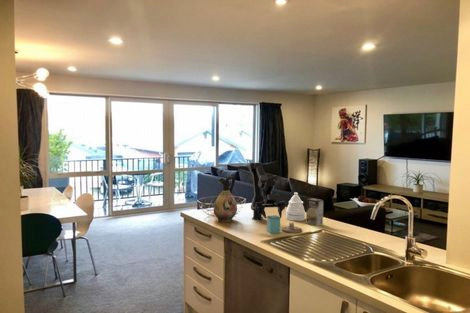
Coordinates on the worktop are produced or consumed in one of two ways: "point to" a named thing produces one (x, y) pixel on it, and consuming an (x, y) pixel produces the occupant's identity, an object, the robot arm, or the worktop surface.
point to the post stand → (291, 229)
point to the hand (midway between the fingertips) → (273, 217)
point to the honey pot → (295, 209)
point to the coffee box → (314, 212)
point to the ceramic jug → (225, 201)
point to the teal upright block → (273, 224)
